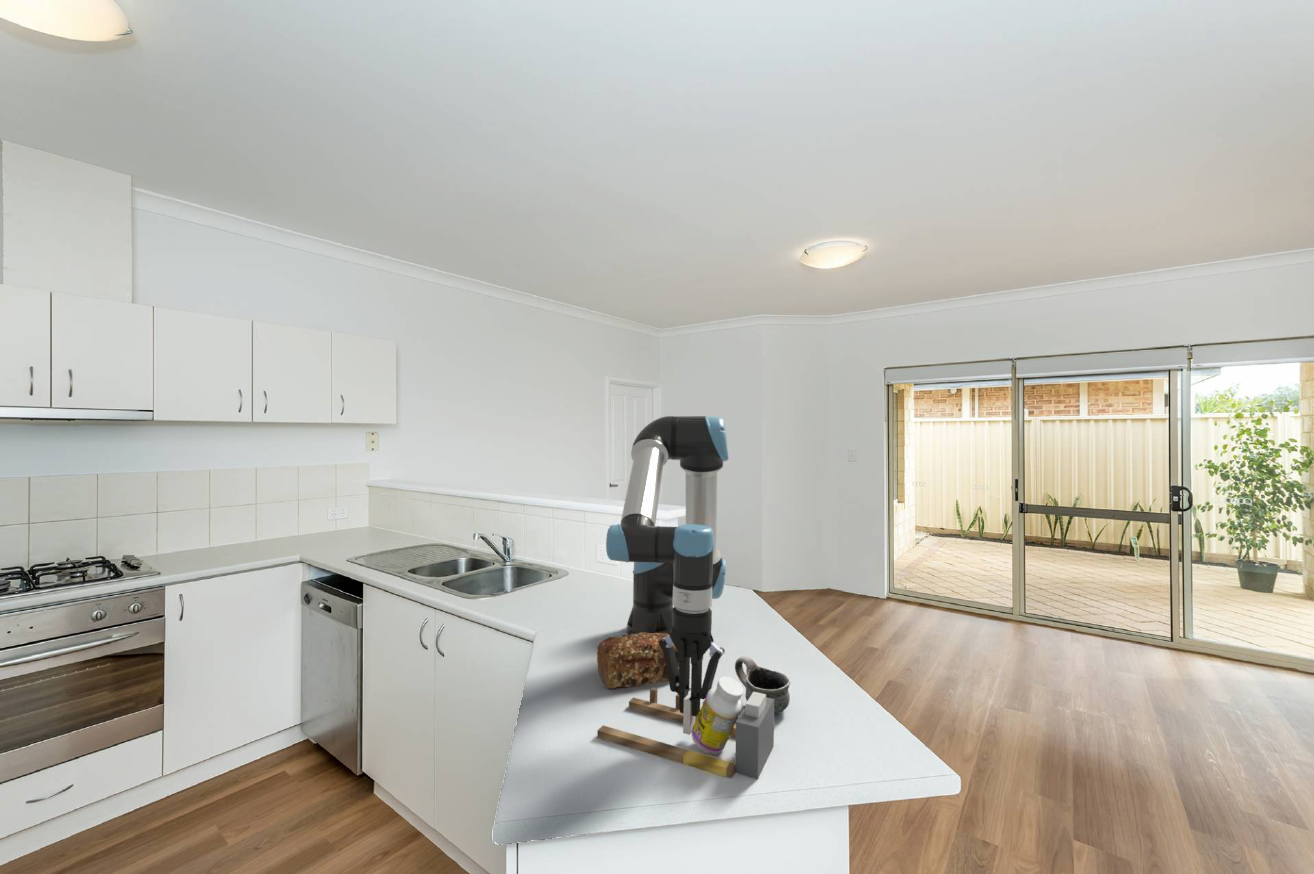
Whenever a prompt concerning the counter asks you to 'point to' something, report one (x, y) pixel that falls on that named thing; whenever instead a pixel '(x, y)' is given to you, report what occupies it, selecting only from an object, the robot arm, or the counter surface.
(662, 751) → the wooden rack
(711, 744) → the supplement bottle
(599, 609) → the counter surface
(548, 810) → the counter surface
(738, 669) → the mug
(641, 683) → the bread
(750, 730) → the grey carton
